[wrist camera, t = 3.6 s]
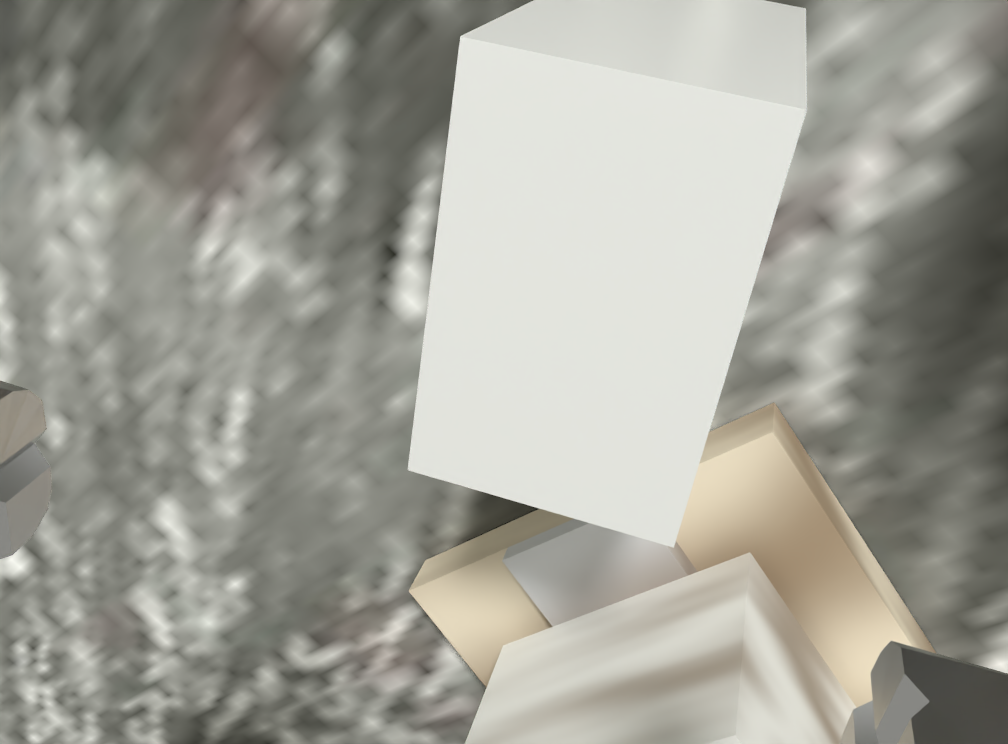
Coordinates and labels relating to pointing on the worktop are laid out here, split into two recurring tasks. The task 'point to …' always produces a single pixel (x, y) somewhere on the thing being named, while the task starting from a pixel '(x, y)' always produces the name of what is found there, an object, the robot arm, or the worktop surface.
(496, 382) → the block
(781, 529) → the rail board
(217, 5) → the worktop surface
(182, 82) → the worktop surface
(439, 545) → the worktop surface
